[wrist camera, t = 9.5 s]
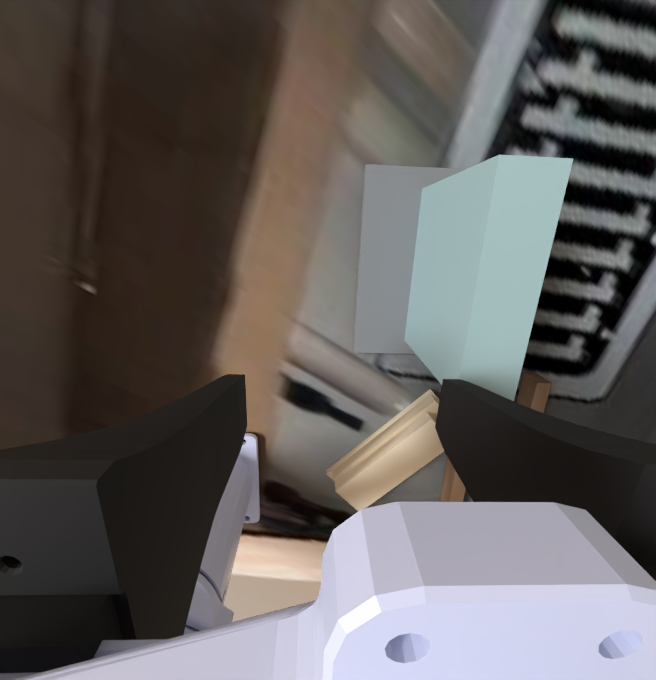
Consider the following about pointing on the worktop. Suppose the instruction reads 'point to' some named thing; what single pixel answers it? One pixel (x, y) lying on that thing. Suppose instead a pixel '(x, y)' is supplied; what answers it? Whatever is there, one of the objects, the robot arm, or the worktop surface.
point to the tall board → (483, 267)
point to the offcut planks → (389, 454)
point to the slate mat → (388, 253)
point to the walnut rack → (529, 395)
